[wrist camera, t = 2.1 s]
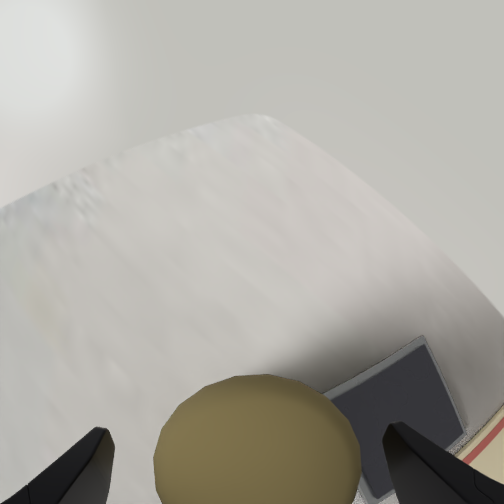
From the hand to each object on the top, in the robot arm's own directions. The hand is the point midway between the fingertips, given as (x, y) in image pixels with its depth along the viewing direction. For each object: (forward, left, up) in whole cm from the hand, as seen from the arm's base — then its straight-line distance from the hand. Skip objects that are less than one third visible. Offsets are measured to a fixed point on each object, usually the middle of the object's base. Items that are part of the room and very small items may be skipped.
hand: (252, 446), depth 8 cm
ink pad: (-4, -8, -8) cm, 12 cm away
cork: (0, 0, -8) cm, 8 cm away
